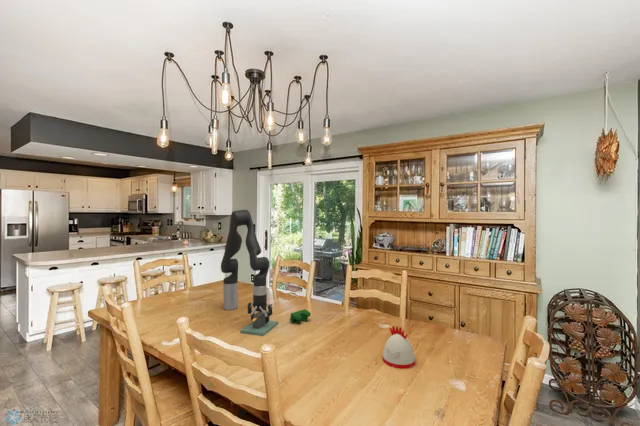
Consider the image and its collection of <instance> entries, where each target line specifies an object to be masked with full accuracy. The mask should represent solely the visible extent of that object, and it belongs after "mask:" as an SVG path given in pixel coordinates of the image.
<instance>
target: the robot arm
mask: <svg viewBox="0 0 640 426" xmlns="http://www.w3.org/2000/svg"><path fill="white" fill-rule="evenodd" d="M240 226H246V227H247V232H246V237H245V246H246V249H247V251H248V255H249V256H248V257H249V267H250V268H251V270H253V271H255V272H258V273H256V274H255V275H254V276H253V287H252V288H253V289H252V301H253V302H252V301H250V302H248V304H247V314H249V315H250V321H251V322H253V321H252V320H253V315H255V314H256V313H258V312H263V314H265V316H266V317H265V323H268V322H269V321H270V317H271V316H272V315H273V304H271V303H270V304H268V303H267V301H268V299H267V298H268V295H267V294H268V293H267V292H268V289H267V277H268V272H269V270H270V259H269V258H268V257H266V256H261V257H257V256H259V255H260V254H261V253H262V249H261V248H262V247H261V246H260V243H259V241H258V239H257V234H256V231H255V226H254V222H253V219H252V215H251V212H250V211H249V209H240V210H239V209H238V210H233V211H232V212H231V214H230V220H229V228H228V229H229V230H228V234H227V239H226V242H225V248H224V254H223V255H222V256H223V257H222V259H221V263H220V271H221V273H223V274H230V275H228V276H226V277H225V278H223V281H222V282H223V283H222V284H223V288H222V289H223V291H222V292H223V293H222V296H223V300H222V301H223V304H222V305H223V308H222V309H223V310H224V309H225V311H234V310H236V308H237V307H238V308H239V293H238V292H239V291H238V287H239V286H238V285H239V284H238V282H239V281H238V278H239V277H238V276H239V275H238V274H239V261H238V259H237V258H233V257H234V256H236V254H237V253H239V251H240V249H241V247H242V244H243V239H242V236H241V235H240V233H239V231H238V227H240ZM238 308H237V309H238ZM252 308H253V309H252ZM233 309H234V310H233Z"/></svg>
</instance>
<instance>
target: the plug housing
mask: <svg viewBox="0 0 640 426" xmlns="http://www.w3.org/2000/svg"><path fill="white" fill-rule="evenodd" d="M254 314H255V315H253V320H252V321H253V328H255V329H260V328H261V327H263V326H264V325H265V324H267V323H265V317H266V316H265V314H263V312H255V313H254ZM252 321H251V322H252Z"/></svg>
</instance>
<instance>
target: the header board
mask: <svg viewBox="0 0 640 426" xmlns="http://www.w3.org/2000/svg"><path fill="white" fill-rule="evenodd" d="M278 324H279V321H278V320H277V321H275V320H269V322H268V323H267V324H265V325H264V326H263V327H261V328H260V329H255V328H253V322H252V321H251V322H250V323H248V324H247V325H245V326H244V327H243V328H242V329H241V328H240V330H239V332H240V333H239V334H246V335H253V336H260V337H265V335H266V336H267V334H268V333H270V331H272V330H273V329H274V328H276V326H278Z"/></svg>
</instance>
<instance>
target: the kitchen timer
mask: <svg viewBox="0 0 640 426" xmlns="http://www.w3.org/2000/svg"><path fill="white" fill-rule="evenodd" d="M389 331H390V333H391V335H390V337H389V338H388V339H387V340H386V343H385V345H384V347H383V350H382V361H383V363H384V364H385V365H386V366H389V367H391V368H395V369H400V370H401V369H403V370H404V369H410V368H413V367H414V366H415V365H416V356H415V353H414V348H413V345H412V344H411V342H410V340H409V339H408V338H407V337H408V333H407V334H405V330H402V326H400V327H399V326H398V325H396V327H395V325H392V328H391V327H389Z"/></svg>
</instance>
